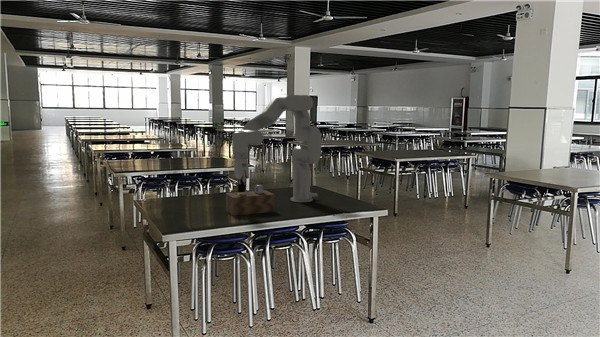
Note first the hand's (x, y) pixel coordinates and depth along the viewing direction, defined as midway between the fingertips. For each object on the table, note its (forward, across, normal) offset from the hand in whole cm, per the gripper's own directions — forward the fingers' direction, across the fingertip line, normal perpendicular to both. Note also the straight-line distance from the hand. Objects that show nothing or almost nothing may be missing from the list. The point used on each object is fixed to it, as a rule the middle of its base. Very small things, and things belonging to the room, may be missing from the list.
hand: (241, 191), depth 232 cm
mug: (+11, +19, -5) cm, 22 cm away
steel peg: (+6, 0, -9) cm, 11 cm away
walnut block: (+10, 0, -4) cm, 11 cm away
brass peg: (+9, 0, +1) cm, 9 cm away
